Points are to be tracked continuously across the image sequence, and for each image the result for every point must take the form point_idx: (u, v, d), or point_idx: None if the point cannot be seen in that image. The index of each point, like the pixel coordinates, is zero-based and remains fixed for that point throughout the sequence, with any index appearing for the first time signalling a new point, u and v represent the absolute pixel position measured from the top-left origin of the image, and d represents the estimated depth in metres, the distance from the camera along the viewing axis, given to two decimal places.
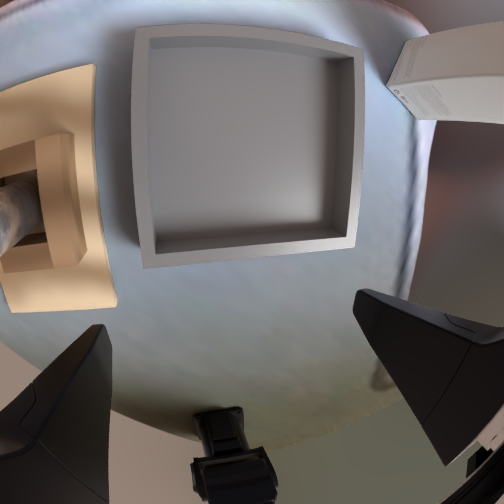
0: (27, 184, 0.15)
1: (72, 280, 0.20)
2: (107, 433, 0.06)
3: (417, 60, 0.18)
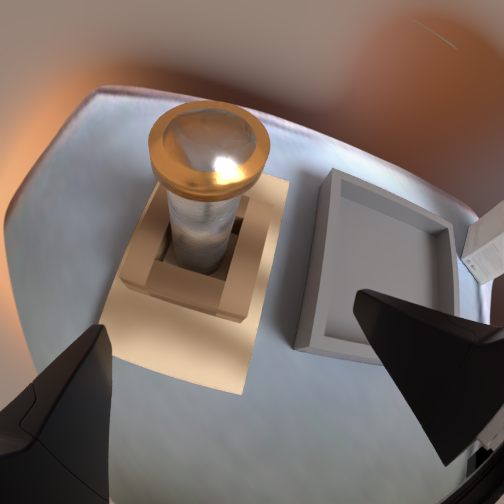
0: None
1: (205, 347, 0.20)
2: (107, 433, 0.06)
3: (480, 233, 0.28)
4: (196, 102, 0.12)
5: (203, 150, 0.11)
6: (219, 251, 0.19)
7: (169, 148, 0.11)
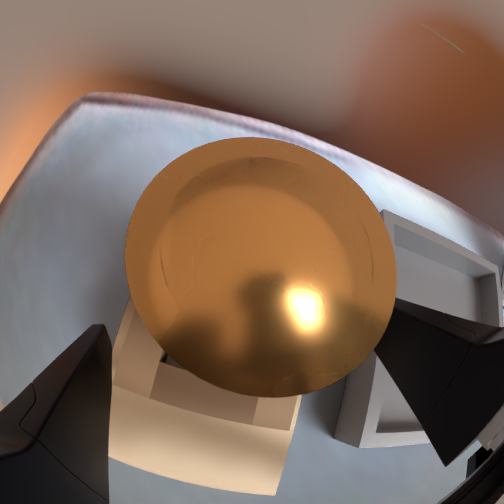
0: None
1: (231, 451, 0.14)
2: (107, 433, 0.06)
3: None
4: (231, 141, 0.06)
5: (267, 291, 0.05)
6: None
7: (180, 287, 0.04)
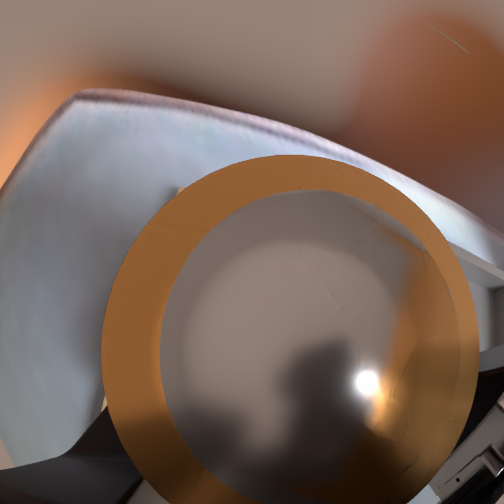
0: None
1: None
2: None
3: None
4: (269, 162, 0.04)
5: (338, 425, 0.02)
6: None
7: (203, 437, 0.02)
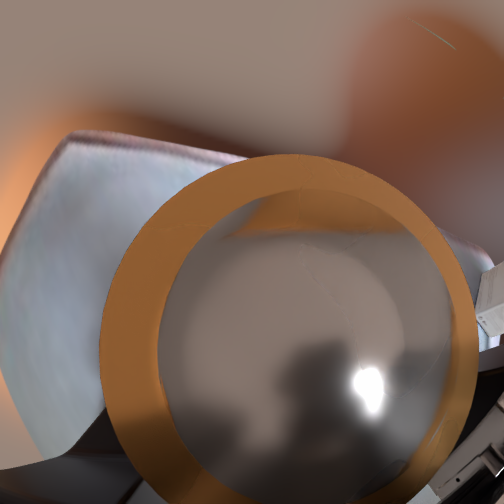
0: None
1: None
2: None
3: (495, 288, 0.25)
4: (267, 161, 0.04)
5: (336, 425, 0.02)
6: None
7: (201, 437, 0.02)
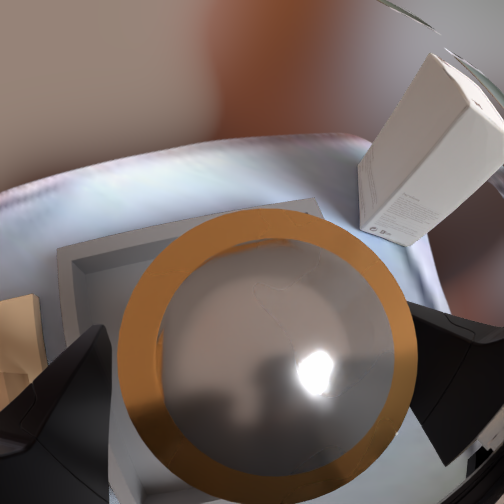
0: None
1: None
2: (107, 433, 0.06)
3: (377, 177, 0.21)
4: (234, 217, 0.05)
5: (279, 413, 0.04)
6: None
7: (184, 414, 0.03)
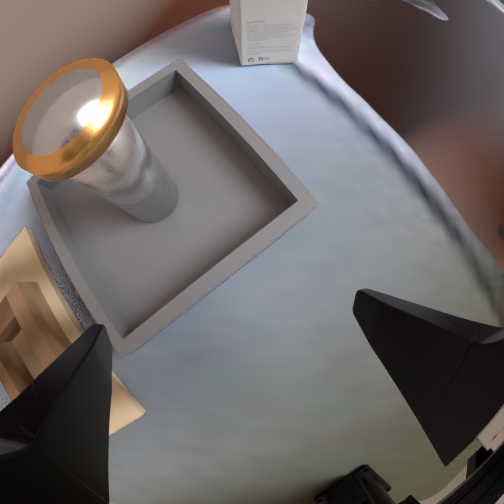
0: None
1: None
2: (107, 433, 0.06)
3: (234, 23, 0.20)
4: (43, 83, 0.08)
5: (55, 127, 0.08)
6: (158, 191, 0.16)
7: (28, 146, 0.07)
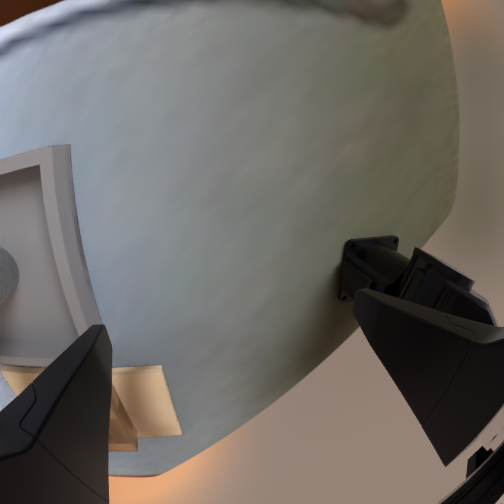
0: None
1: (141, 396, 0.25)
2: (107, 433, 0.06)
3: None
4: None
5: None
6: None
7: None
